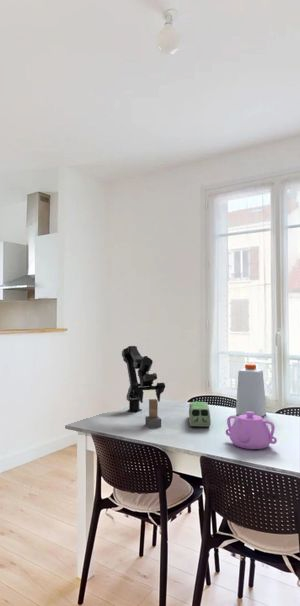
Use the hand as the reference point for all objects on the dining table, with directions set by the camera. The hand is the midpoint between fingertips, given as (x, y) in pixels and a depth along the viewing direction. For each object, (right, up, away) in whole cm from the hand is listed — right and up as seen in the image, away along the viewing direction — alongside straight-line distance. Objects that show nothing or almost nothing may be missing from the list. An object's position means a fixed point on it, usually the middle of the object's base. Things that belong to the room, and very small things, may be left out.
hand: (150, 401), depth 193 cm
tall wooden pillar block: (+1, -11, -4) cm, 12 cm away
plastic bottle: (+57, -12, +20) cm, 61 cm away
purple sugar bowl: (+41, -9, -36) cm, 55 cm away
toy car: (+25, -12, +2) cm, 28 cm away
